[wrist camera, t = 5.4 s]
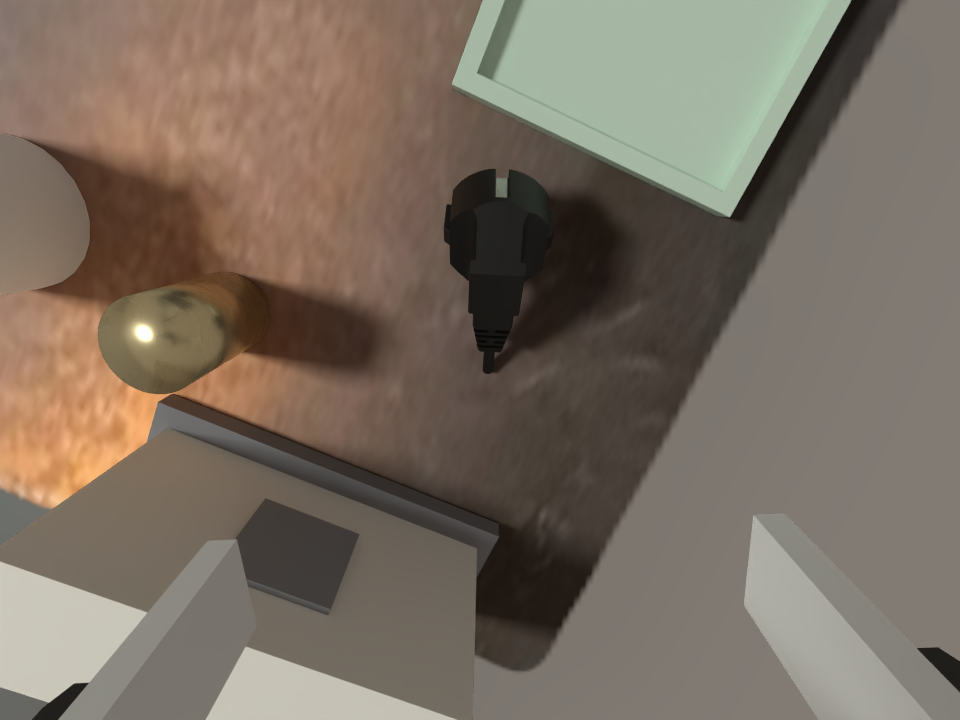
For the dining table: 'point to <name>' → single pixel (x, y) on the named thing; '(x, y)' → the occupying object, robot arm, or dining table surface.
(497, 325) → the power plug
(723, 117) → the tray
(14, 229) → the cylinder with rectangular tab
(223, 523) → the box
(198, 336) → the cylinder
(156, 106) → the dining table surface
